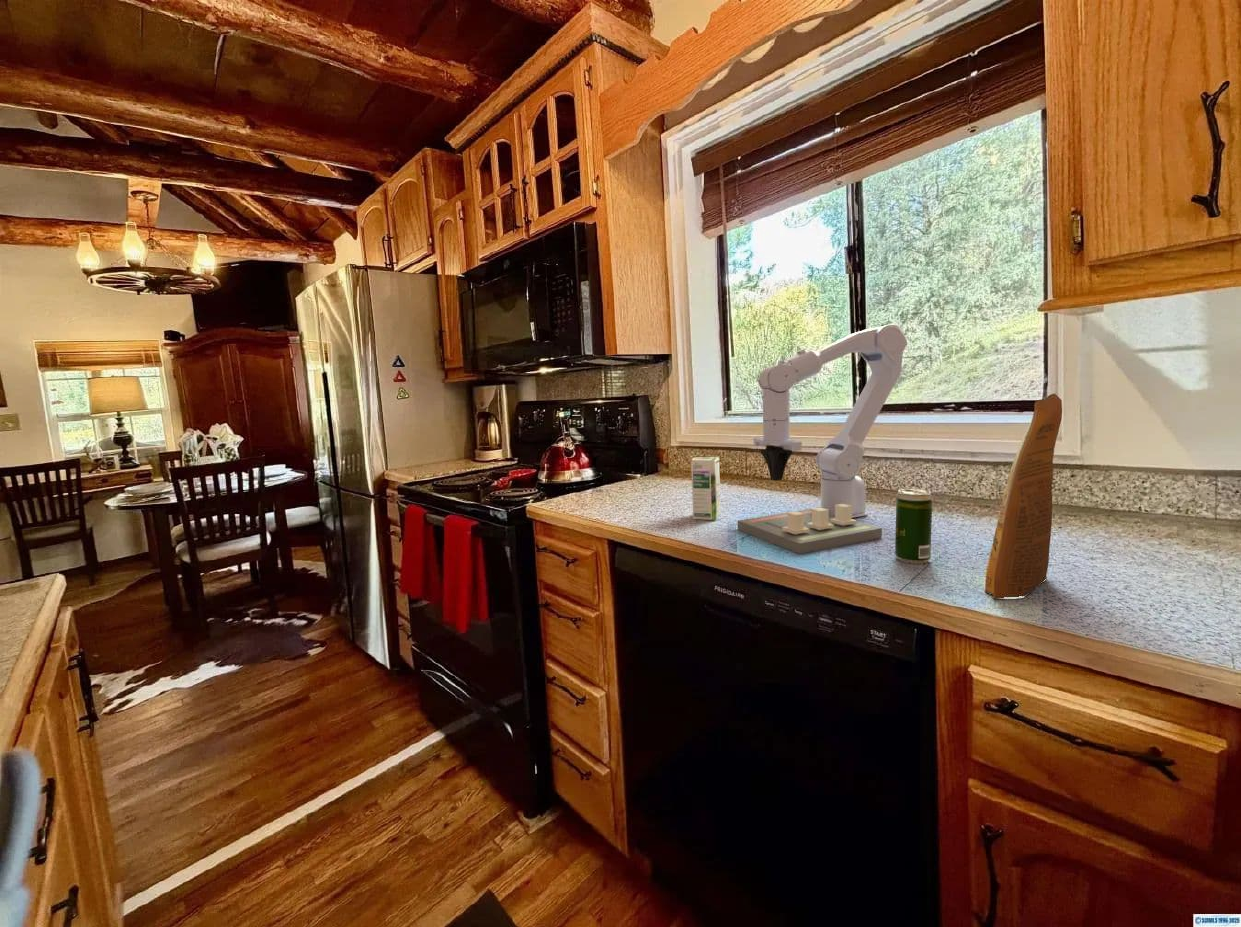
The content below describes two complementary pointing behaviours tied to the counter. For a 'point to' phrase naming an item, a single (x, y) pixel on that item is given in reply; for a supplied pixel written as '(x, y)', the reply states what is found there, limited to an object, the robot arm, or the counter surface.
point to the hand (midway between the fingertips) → (776, 479)
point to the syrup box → (705, 488)
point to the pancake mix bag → (1026, 509)
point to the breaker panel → (811, 540)
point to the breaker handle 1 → (795, 523)
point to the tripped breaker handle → (820, 519)
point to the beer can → (913, 526)
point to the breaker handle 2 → (843, 515)
